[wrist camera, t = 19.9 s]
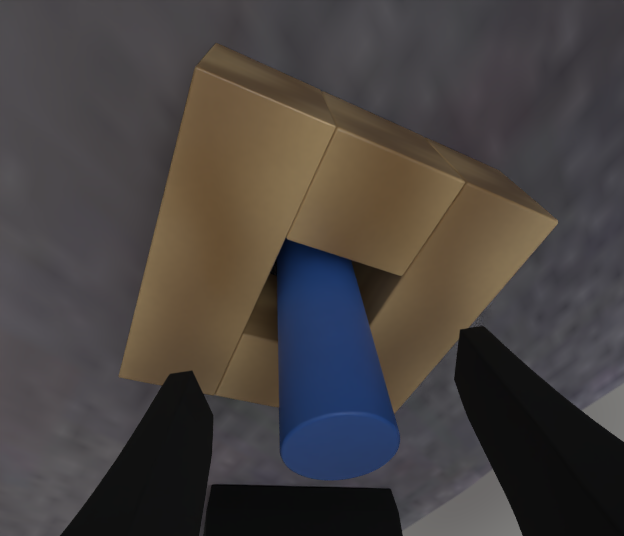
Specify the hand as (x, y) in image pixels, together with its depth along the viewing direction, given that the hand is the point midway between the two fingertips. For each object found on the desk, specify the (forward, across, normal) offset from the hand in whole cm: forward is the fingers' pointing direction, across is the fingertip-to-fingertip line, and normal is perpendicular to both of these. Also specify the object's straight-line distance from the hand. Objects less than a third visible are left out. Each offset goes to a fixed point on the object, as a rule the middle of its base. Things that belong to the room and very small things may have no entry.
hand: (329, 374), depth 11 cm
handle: (+7, 0, 0) cm, 7 cm away
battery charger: (+7, +5, +24) cm, 26 cm away
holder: (+7, 0, 0) cm, 7 cm away
